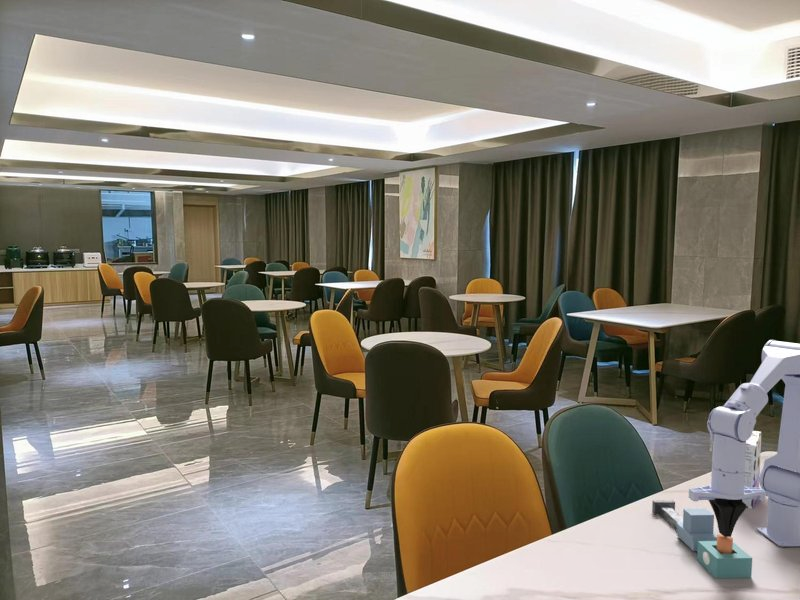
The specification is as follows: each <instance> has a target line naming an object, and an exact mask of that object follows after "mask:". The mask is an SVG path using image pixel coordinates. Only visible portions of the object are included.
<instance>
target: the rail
mask: <svg viewBox="0 0 800 600" xmlns="http://www.w3.org/2000/svg"><path fill="white" fill-rule="evenodd" d="M651 504H652V505H651V507H652V508H651V509H652V510H651V512H652V514H653V515H659V516H661V517H662V518H663V519H664V520H665V522H667V523H669V525H670V526H672V527H673V528H674V529H675V530H676V531H677V527H676V523H683V516H681V515H680V514H679V513H678V512H677V511H676V502H675V500H673V499H665V500H664V499H657V500H656V499H654V500H652V503H651Z"/></svg>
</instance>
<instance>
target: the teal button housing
mask: <svg viewBox="0 0 800 600" xmlns="http://www.w3.org/2000/svg"><path fill="white" fill-rule="evenodd" d="M716 548H717V541H698V551H697V553H696V555H697V556H696V557H697V558H696V559H697V560H696V561H698V562H699V563H700V564H701V565H702V566H703V567H704V568H705V569H706V570H707V571H708V572H709V573H710V574H711V575H712V576H713V577H714V578H716V579H746V578H748V579H751V578H752V570H753V569H752V568H753V557H752V556H751V555H750V554H748V553H747V552H745V550H743V549H742V547H740V546H738V545H737V544H736V543H735V542H733V548H732V554H721V553H719V552H718V551H717V550H716Z"/></svg>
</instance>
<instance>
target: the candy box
mask: <svg viewBox="0 0 800 600" xmlns="http://www.w3.org/2000/svg"><path fill="white" fill-rule="evenodd" d="M761 449H762V431H758V430H753V433H752V435H751V437H750V438H749V439H748V440H746V455H745V476H744V486H745V487H758V488H760V482H759V477H760V473H761V471H760V470H761V452H762V450H761ZM756 501H757V499H742V502H743V503H745V504H746V509H749V510H753V509H754V507H755V504H756Z"/></svg>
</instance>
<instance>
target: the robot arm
mask: <svg viewBox="0 0 800 600" xmlns="http://www.w3.org/2000/svg"><path fill="white" fill-rule="evenodd" d="M780 380H782V382H783V383H784V384H785V387H784V394H783V403H782V411H781V418H780V428H779V433H778V435H779V437H778V443H777V451H776V453H775V454H772V455H770V456H768V457H766V458H765V459H764V461H763V466H762V469H761V471H760V475H759V488H758V487H745V486H744V476H745V455H746V440H748V439H749V438H750V437H751V435H752V433H753V431H754V428H755V425H756V423H757V417H758V416H759V414H760V413H761V411H762V410H763V409H764V408H765V407H766V405H767V404H768V402H769V396H768V393H769V391H770V390H772V388H774V386H775V385H777V384H778V382H779V381H780ZM706 424H707V426H706V427H707V430H708V432H709V434H710V435H709V441H710V443H712V455H711V456H712V459H711V464H712V465H711V478H710V479H711V480H710V481H711V483H710V484H709V485H708V484H707V485H704V486H699V487H698V486H697V487H692V488H688V498H689V499H690V500H691V501H693V502H699V501H708V502H709V504H710V506H711V508H712V510H713V514H714V517H715V519H716V523H717V528H718V534H722V535H723V536H724V537H732V534H733V532H734V529H735V527H736V524H737V522H738V520H739V519H740V517H741V515H742V514H743V513H744V512H745V511H746V509H747V508H746V504H745V503H743V502H742V499H756V500H759V501H761V502H762V501H763V502H765V501H766V497H767V511H766V512H767V513H766V514H767V515H766V527H757V531H758V532H759V533H761V534H762V535H764V537H766V538H768V539H769V540H770V541H772V542H773V543H774V544H775V545H777V546H779V547H800V343H797V342H796V343H795V342H788V341H779V340H776V339H769V340H768V341H767V342H766V343H765V344H764V346H763V348H762V350H761V364H760V365H759V367H758V369H756V372H755V373H754V375H753V377H752V378H751V380H750V382H744V383H741V384H740V385H739V386H738V387H737V388H736V390H734V392H733V393H732V395H730V397H729V399H727V401H726V402H725V403H724V405H722V406H718V407H715V408H713V409H711V412H710V413H709V415H708V420H707V422H706Z"/></svg>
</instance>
